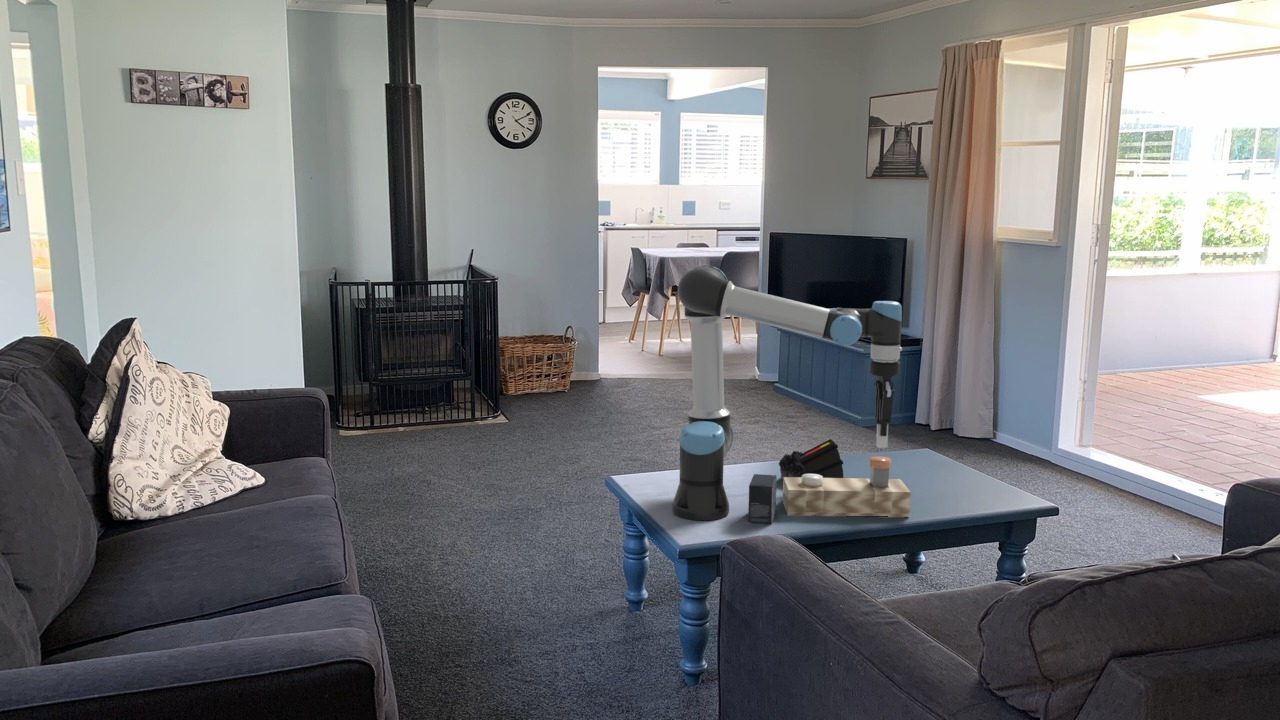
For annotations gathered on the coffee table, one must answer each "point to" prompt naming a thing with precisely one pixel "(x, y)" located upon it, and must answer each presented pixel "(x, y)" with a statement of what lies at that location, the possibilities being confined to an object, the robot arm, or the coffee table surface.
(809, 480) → the pale plunger
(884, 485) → the terracotta plunger
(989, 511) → the coffee table surface
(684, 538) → the coffee table surface
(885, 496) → the block
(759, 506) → the small box
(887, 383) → the robot arm
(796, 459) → the black rock
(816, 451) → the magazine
